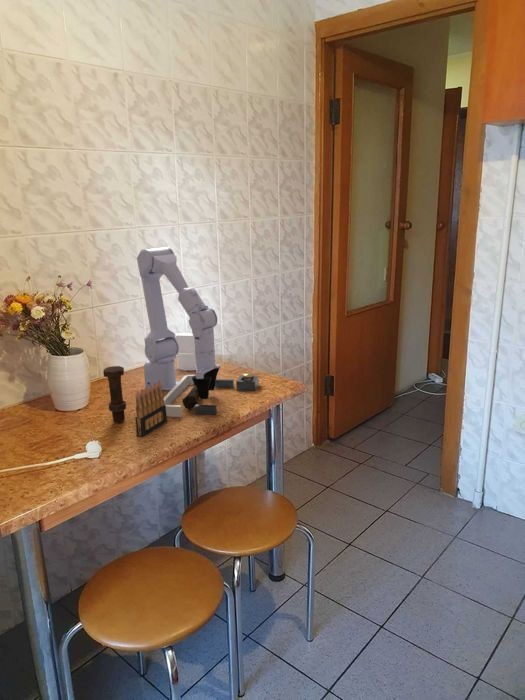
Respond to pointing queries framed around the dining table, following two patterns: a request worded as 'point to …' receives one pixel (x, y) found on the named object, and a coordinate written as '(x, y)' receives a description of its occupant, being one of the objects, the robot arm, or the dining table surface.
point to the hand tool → (191, 398)
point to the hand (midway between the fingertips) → (207, 394)
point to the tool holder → (228, 383)
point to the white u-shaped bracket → (173, 394)
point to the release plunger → (247, 376)
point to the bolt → (116, 392)
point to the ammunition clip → (150, 410)
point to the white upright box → (186, 351)
